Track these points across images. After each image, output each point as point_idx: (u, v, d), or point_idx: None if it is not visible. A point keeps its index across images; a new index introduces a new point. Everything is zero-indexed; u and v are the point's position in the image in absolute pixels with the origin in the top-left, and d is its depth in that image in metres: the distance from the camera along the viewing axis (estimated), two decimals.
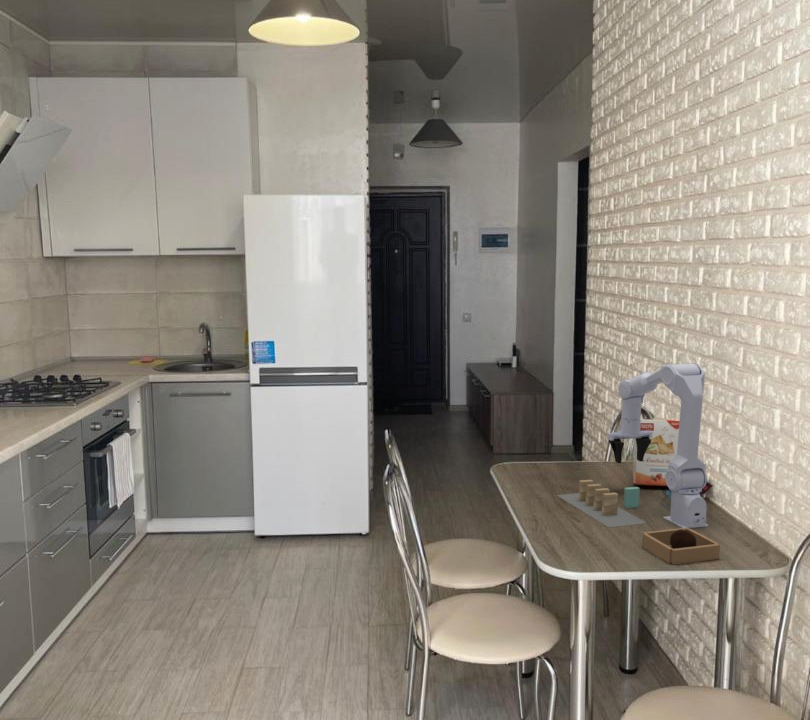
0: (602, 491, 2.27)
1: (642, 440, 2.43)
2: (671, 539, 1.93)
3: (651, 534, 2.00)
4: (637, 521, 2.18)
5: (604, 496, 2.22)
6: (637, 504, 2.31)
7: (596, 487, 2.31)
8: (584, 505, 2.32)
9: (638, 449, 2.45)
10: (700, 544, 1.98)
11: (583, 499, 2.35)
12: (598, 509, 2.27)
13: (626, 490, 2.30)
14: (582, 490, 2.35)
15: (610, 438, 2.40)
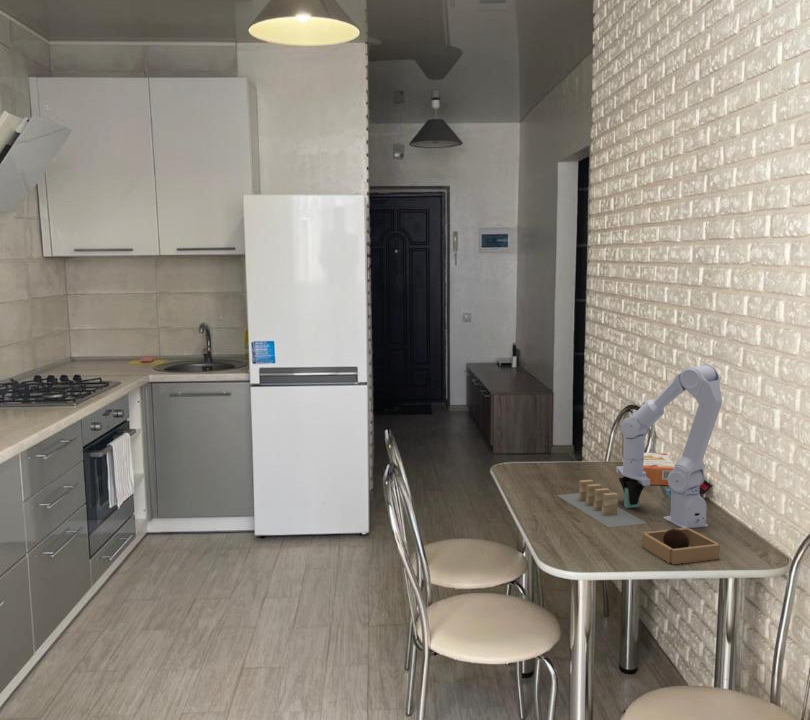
0: (602, 491, 2.27)
1: None
2: (664, 538, 1.94)
3: (651, 534, 2.00)
4: (637, 521, 2.18)
5: (604, 496, 2.22)
6: (637, 504, 2.31)
7: (596, 487, 2.31)
8: (584, 505, 2.32)
9: None
10: (700, 544, 1.98)
11: (583, 499, 2.35)
12: (598, 509, 2.27)
13: (626, 490, 2.30)
14: (582, 490, 2.35)
15: None
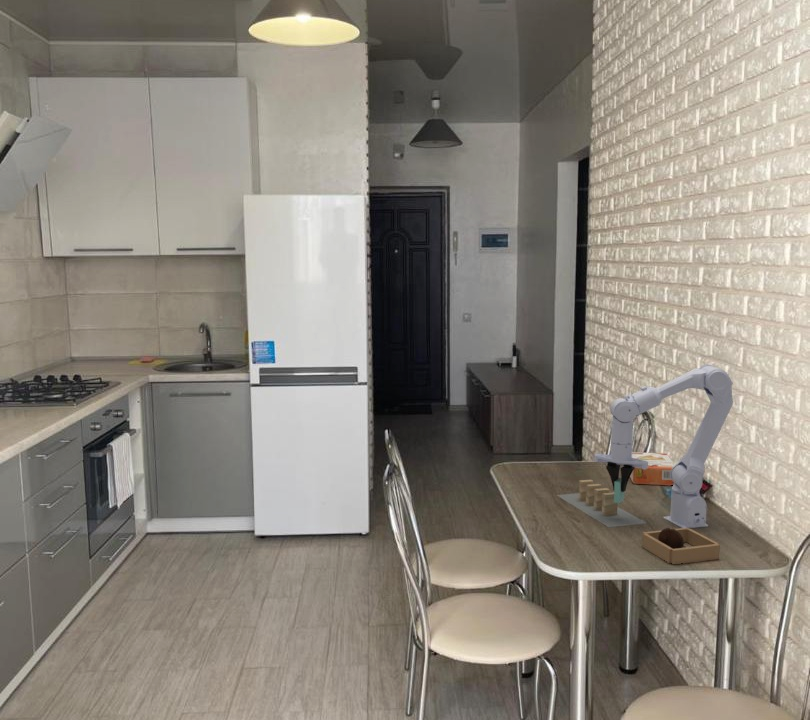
0: (602, 491, 2.27)
1: None
2: (659, 537, 1.95)
3: (651, 534, 2.00)
4: (637, 521, 2.18)
5: (604, 496, 2.22)
6: (623, 495, 2.20)
7: (596, 487, 2.31)
8: (584, 505, 2.32)
9: None
10: (700, 544, 1.98)
11: (583, 499, 2.35)
12: (598, 509, 2.27)
13: (617, 484, 2.17)
14: (582, 490, 2.35)
15: None
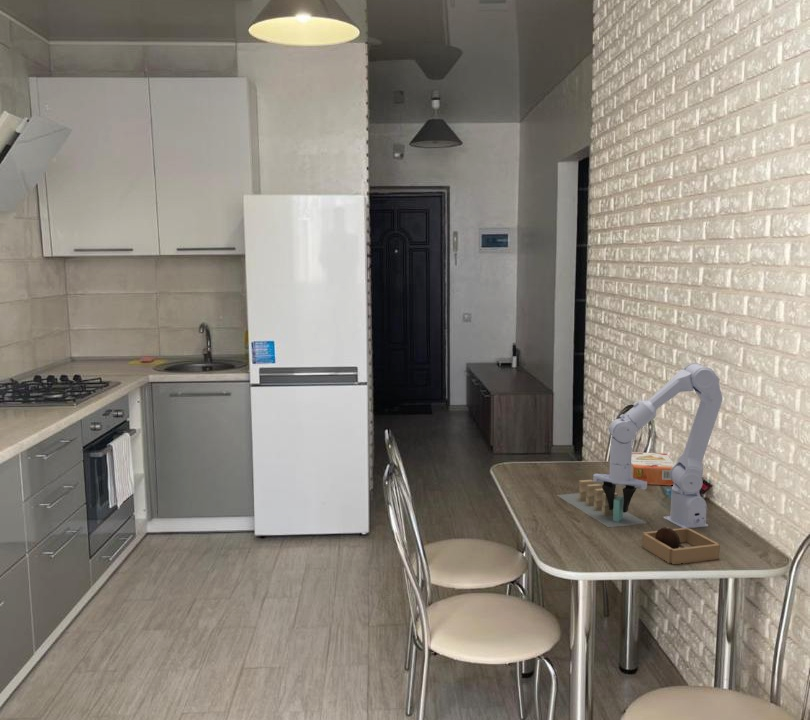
0: (602, 491, 2.27)
1: None
2: (656, 536, 1.95)
3: (651, 534, 2.00)
4: (637, 521, 2.18)
5: (604, 496, 2.22)
6: (622, 514, 2.20)
7: (596, 487, 2.31)
8: (584, 505, 2.32)
9: None
10: (700, 544, 1.98)
11: (583, 499, 2.35)
12: (598, 509, 2.27)
13: (617, 502, 2.17)
14: (582, 490, 2.35)
15: None
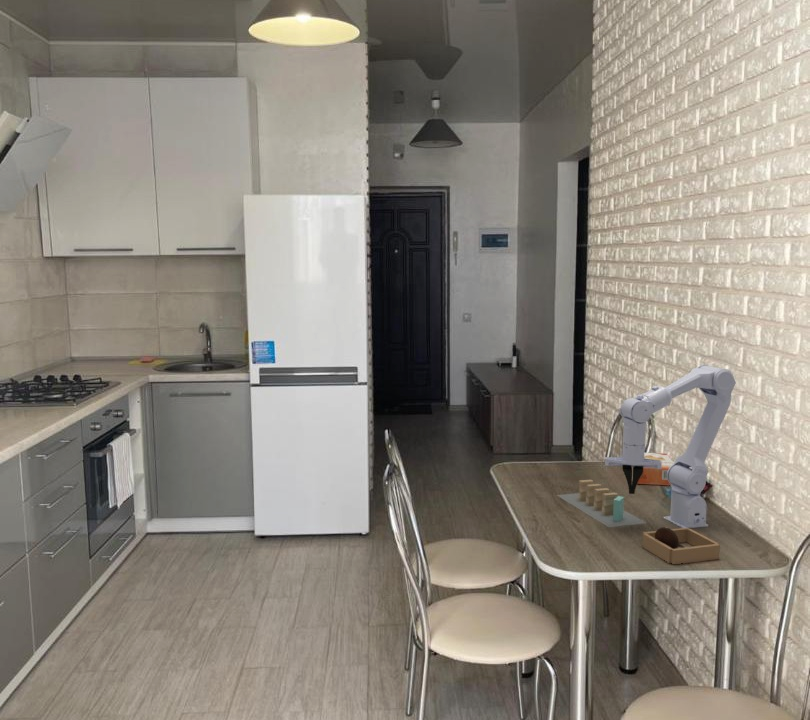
0: (602, 491, 2.27)
1: (633, 469, 2.11)
2: (655, 535, 1.96)
3: (651, 534, 2.00)
4: (637, 521, 2.18)
5: (604, 496, 2.22)
6: (622, 514, 2.20)
7: (596, 487, 2.31)
8: (584, 505, 2.32)
9: None
10: (700, 544, 1.98)
11: (583, 499, 2.35)
12: (598, 509, 2.27)
13: (617, 502, 2.17)
14: (582, 490, 2.35)
15: (605, 463, 2.13)
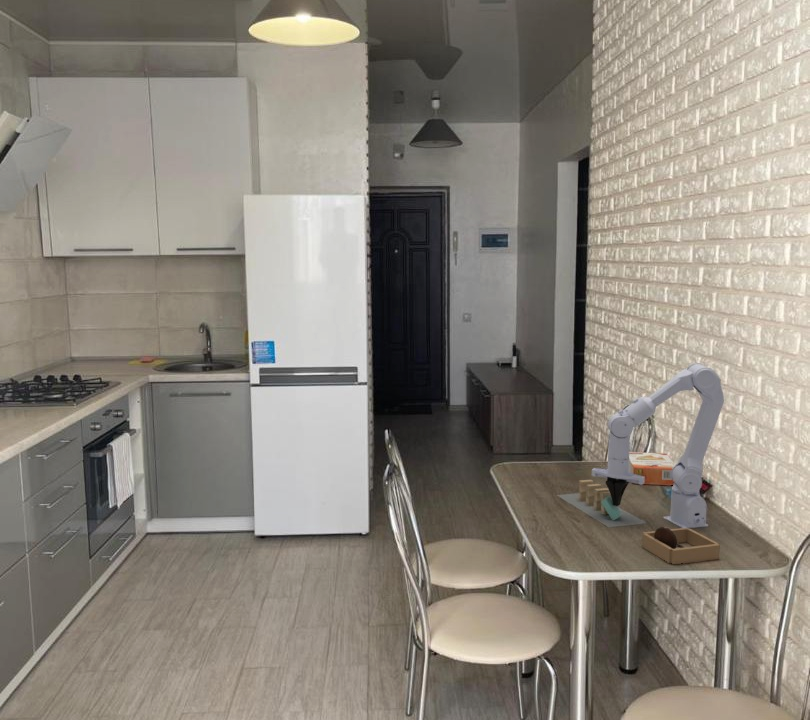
0: (602, 491, 2.27)
1: None
2: (655, 535, 1.96)
3: (651, 534, 2.00)
4: (637, 521, 2.18)
5: (602, 494, 2.24)
6: (619, 511, 2.21)
7: (596, 487, 2.31)
8: (584, 505, 2.32)
9: None
10: (700, 544, 1.98)
11: (583, 499, 2.35)
12: (598, 509, 2.27)
13: (604, 501, 2.19)
14: (582, 490, 2.35)
15: None
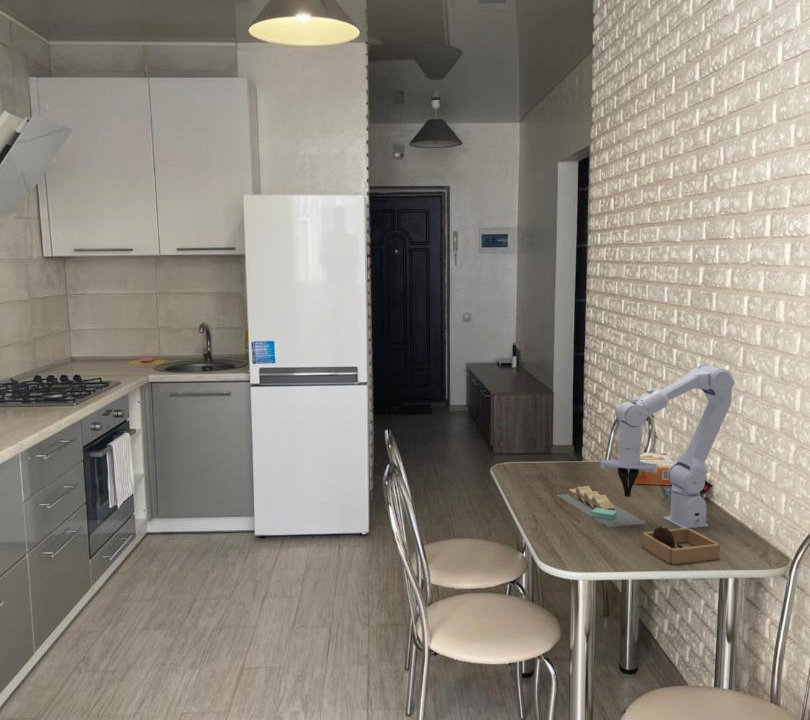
0: (590, 492, 2.33)
1: None
2: (654, 534, 1.96)
3: (651, 534, 2.00)
4: (637, 521, 2.18)
5: (593, 498, 2.28)
6: (612, 510, 2.22)
7: (584, 487, 2.38)
8: (584, 505, 2.32)
9: None
10: (700, 544, 1.98)
11: None
12: None
13: (593, 514, 2.21)
14: (573, 491, 2.40)
15: (601, 465, 2.16)
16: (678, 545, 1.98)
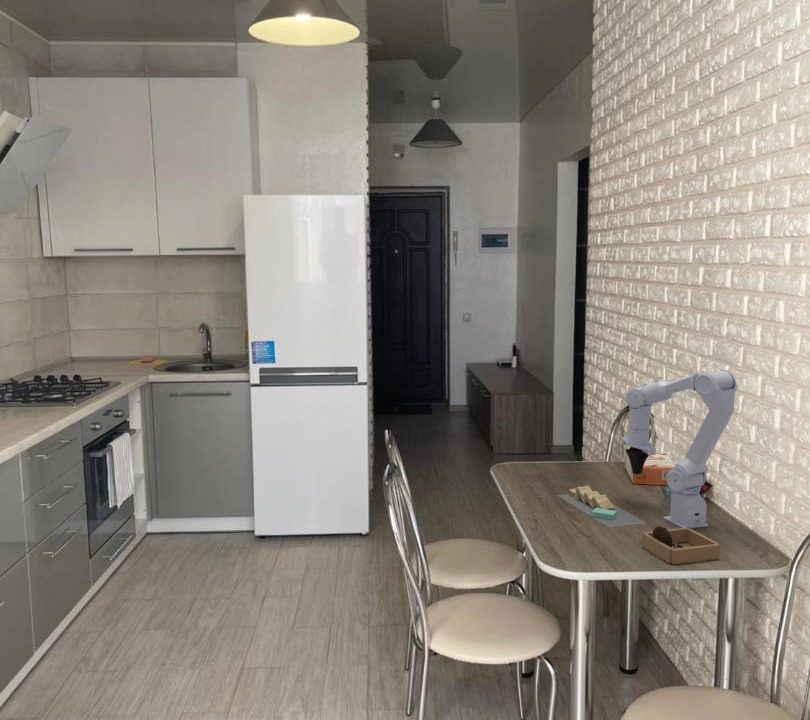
0: (590, 492, 2.33)
1: None
2: (653, 534, 1.97)
3: (651, 534, 2.00)
4: (637, 521, 2.18)
5: (593, 498, 2.28)
6: (612, 510, 2.22)
7: (584, 487, 2.38)
8: (584, 505, 2.32)
9: None
10: (700, 544, 1.98)
11: None
12: None
13: (593, 514, 2.21)
14: (573, 491, 2.40)
15: None
16: (679, 545, 1.98)
